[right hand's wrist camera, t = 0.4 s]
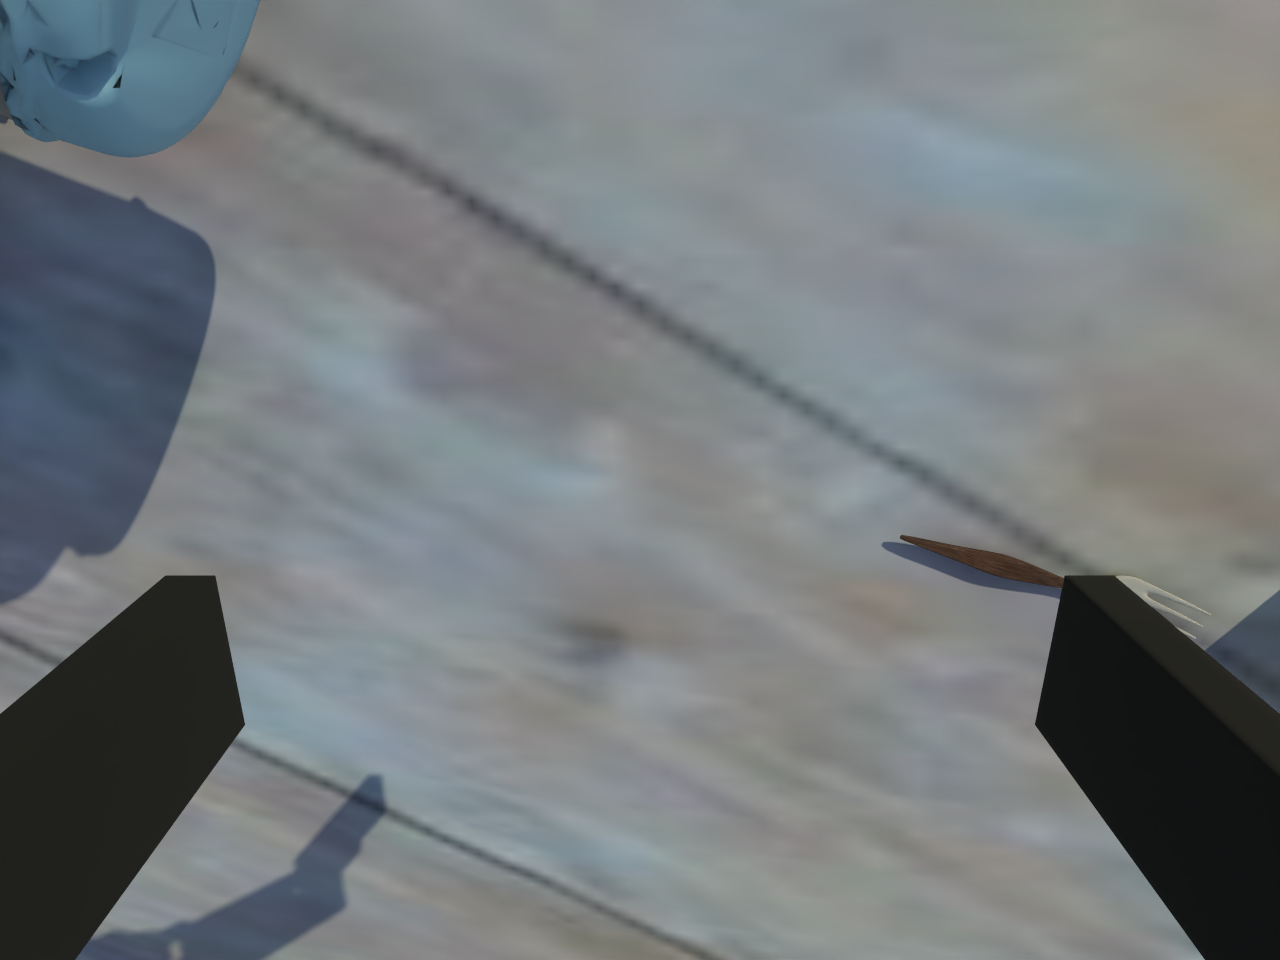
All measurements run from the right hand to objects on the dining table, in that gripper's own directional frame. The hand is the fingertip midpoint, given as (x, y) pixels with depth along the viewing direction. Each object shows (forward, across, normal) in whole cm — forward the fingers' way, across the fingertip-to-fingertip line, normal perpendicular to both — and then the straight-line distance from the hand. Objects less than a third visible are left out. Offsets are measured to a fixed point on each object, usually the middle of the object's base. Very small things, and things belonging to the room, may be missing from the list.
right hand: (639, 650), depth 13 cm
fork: (+27, -21, +12) cm, 36 cm away
